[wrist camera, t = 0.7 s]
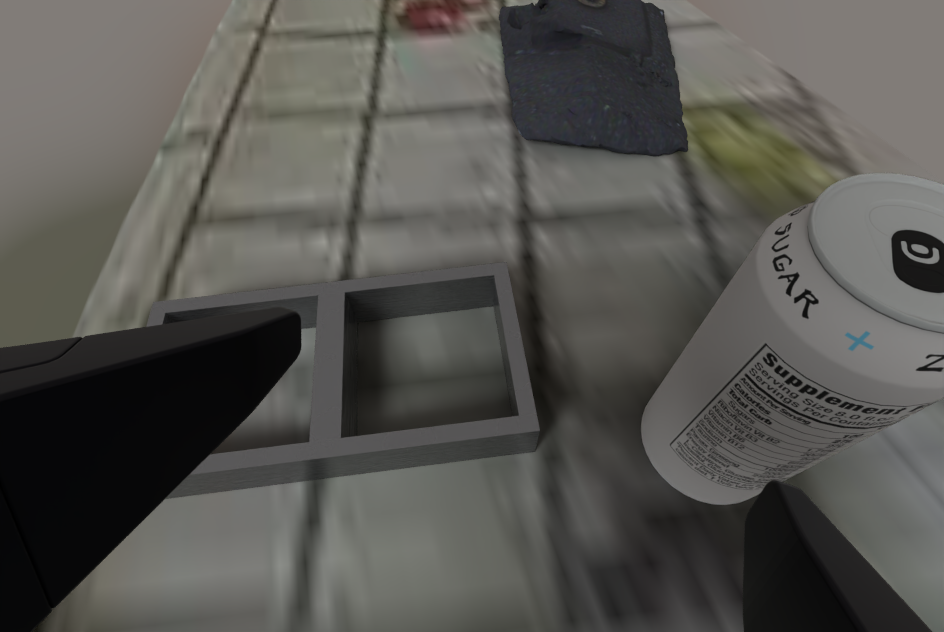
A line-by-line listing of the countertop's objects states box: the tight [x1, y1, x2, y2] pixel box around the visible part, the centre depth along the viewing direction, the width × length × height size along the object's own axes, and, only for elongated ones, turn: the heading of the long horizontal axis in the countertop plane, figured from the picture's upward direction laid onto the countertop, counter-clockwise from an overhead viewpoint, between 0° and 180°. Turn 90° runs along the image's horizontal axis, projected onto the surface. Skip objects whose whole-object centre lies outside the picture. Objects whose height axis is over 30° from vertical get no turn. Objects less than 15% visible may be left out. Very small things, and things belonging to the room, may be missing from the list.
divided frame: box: [147, 262, 540, 499], centre depth 25 cm, size 10×19×3 cm, turn 97°
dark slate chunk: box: [499, 0, 688, 156], centre depth 40 cm, size 15×22×5 cm
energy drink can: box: [641, 173, 944, 505], centre depth 18 cm, size 6×6×15 cm
